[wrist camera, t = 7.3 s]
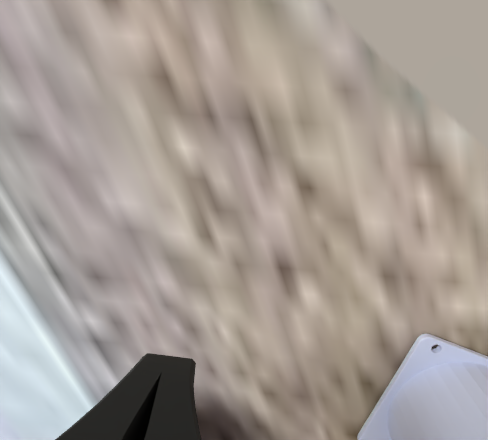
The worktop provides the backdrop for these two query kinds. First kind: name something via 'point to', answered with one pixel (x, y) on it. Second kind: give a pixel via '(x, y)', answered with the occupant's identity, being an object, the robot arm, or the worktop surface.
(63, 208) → the worktop surface
